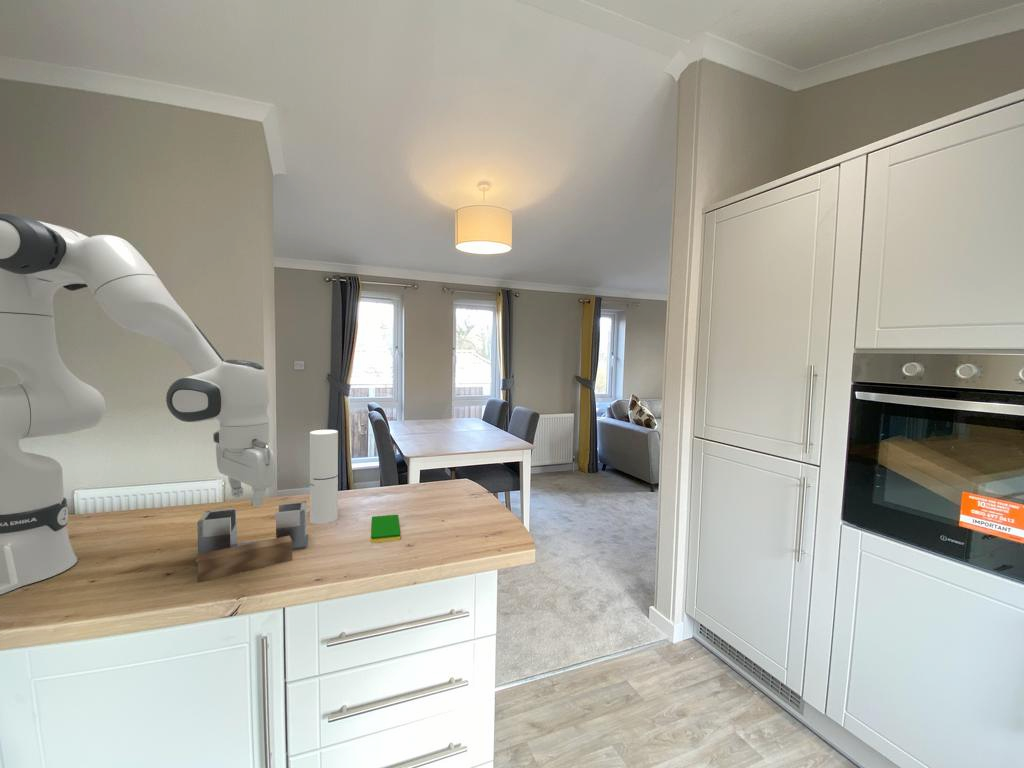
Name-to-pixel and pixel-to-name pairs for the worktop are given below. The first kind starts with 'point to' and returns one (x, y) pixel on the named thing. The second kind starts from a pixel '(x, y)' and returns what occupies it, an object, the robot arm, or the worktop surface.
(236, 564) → the rail
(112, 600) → the worktop surface
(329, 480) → the cylindrical container
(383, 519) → the dish sponge
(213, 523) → the bracket stand
